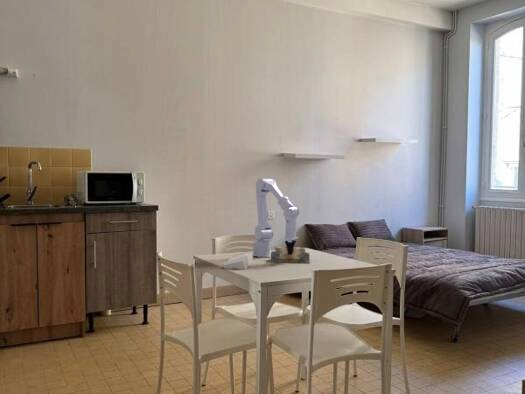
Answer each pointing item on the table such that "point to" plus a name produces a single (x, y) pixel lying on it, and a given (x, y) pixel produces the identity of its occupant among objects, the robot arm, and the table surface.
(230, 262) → the decorative molding
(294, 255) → the slat
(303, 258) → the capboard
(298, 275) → the table surface
